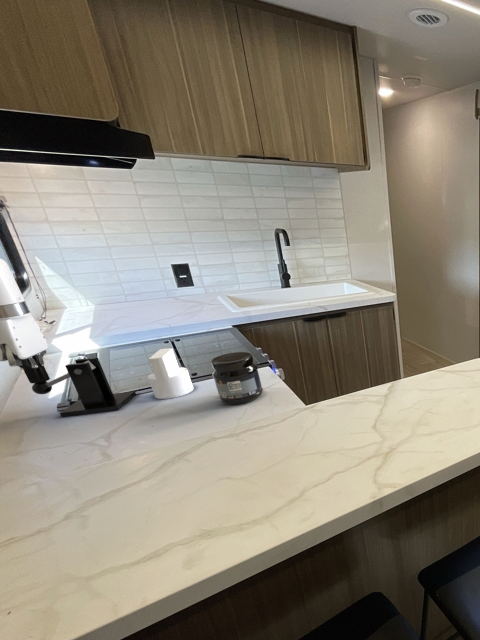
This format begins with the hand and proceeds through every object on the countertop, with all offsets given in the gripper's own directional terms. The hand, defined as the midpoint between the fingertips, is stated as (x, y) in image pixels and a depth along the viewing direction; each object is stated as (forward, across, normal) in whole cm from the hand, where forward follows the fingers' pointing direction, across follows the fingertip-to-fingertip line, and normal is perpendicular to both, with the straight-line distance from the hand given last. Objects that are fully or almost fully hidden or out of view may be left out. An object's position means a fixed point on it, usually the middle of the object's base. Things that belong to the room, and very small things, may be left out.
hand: (40, 381), depth 103 cm
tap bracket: (+9, 0, +10) cm, 13 cm away
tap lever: (+1, 0, +5) cm, 5 cm away
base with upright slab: (+9, -4, +26) cm, 27 cm away
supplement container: (+9, +7, +45) cm, 47 cm away
